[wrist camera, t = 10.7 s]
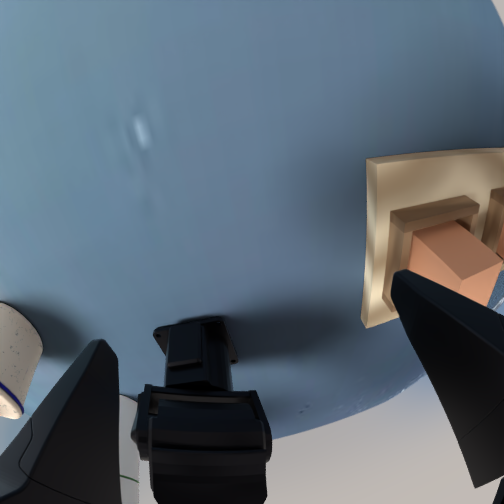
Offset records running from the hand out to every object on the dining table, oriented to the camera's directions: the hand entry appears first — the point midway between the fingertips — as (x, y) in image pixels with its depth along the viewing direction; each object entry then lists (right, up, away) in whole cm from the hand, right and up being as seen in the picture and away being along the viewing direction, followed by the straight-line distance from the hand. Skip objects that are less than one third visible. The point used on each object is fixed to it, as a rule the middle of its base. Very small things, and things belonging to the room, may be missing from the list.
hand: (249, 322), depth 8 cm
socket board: (+21, +5, +15) cm, 26 cm away
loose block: (+15, +2, +14) cm, 20 cm away
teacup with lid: (-27, -7, +15) cm, 32 cm away
